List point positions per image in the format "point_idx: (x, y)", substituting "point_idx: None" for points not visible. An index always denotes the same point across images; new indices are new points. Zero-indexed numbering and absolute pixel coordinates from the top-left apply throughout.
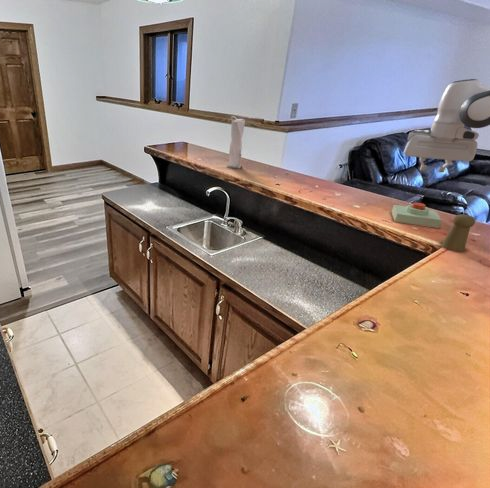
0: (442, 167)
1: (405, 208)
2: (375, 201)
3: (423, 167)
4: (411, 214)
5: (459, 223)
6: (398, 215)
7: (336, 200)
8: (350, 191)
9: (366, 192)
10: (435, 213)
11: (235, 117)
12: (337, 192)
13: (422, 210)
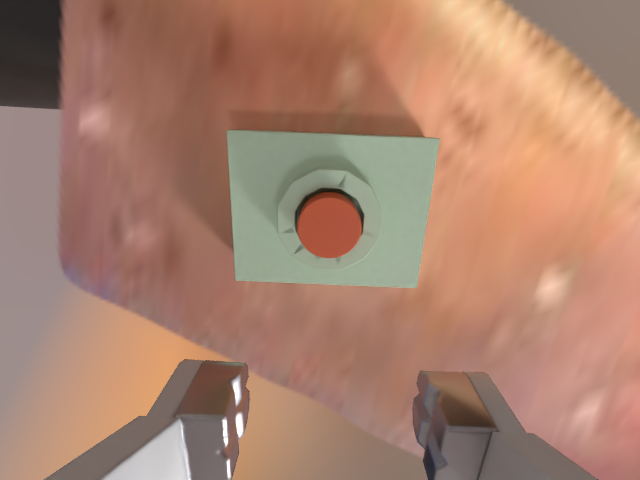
0: (193, 418)
1: (372, 251)
2: None
3: (478, 401)
4: (364, 160)
5: None
6: (428, 137)
7: (624, 334)
8: None
9: None
10: (241, 232)
11: None
12: (579, 436)
13: (316, 177)
